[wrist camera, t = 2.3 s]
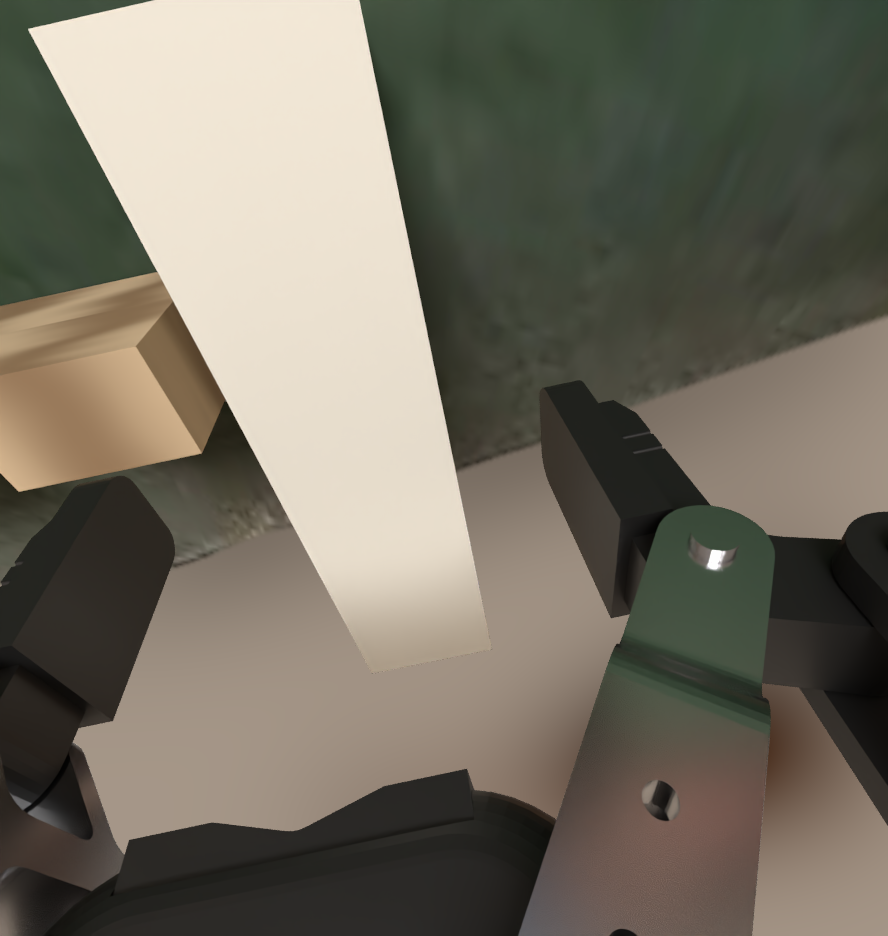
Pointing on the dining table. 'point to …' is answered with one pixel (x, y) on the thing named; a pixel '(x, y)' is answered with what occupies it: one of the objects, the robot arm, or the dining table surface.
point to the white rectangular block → (292, 284)
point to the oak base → (100, 384)
